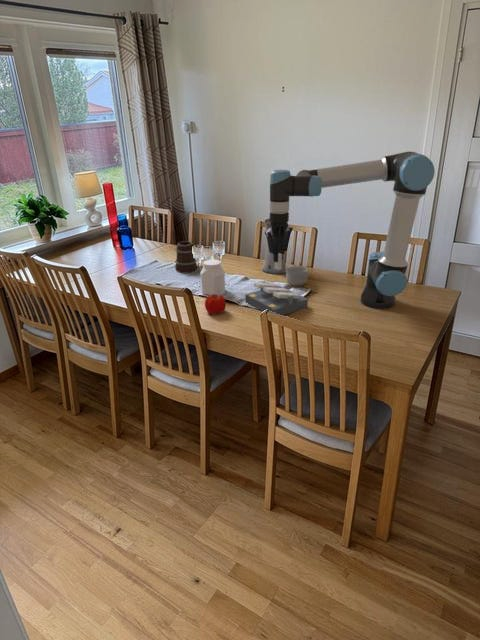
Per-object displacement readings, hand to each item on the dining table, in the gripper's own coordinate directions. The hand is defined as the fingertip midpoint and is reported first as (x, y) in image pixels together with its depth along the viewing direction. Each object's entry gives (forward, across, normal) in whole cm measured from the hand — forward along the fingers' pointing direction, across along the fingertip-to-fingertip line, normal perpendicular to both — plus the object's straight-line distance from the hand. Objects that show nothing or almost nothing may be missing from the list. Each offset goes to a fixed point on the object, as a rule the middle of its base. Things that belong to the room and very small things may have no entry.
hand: (277, 268), depth 183 cm
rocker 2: (+13, -5, -7) cm, 16 cm away
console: (+20, -5, -7) cm, 22 cm away
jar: (+21, +9, -37) cm, 44 cm away
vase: (+21, -33, -42) cm, 57 cm away
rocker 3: (+13, -5, 0) cm, 14 cm away
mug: (+21, +2, -75) cm, 78 cm away
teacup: (+21, -30, -22) cm, 42 cm away
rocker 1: (+13, -5, -14) cm, 20 cm away
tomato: (+21, +21, -17) cm, 34 cm away
